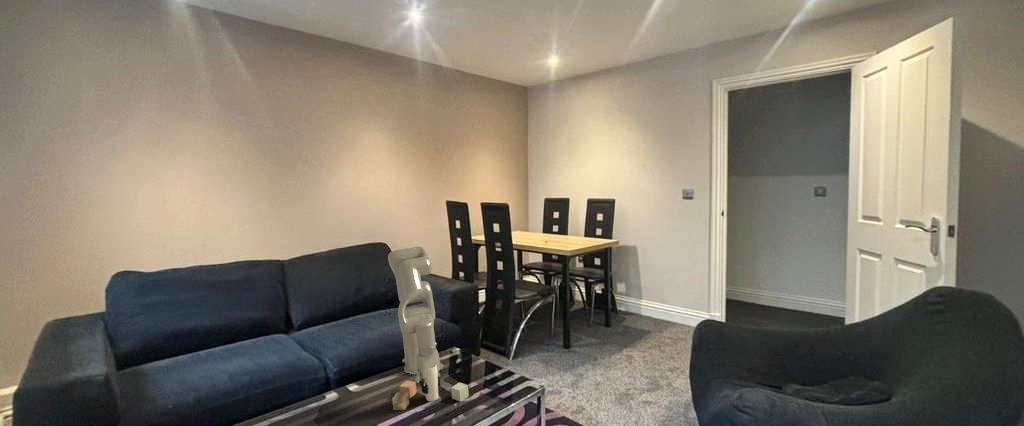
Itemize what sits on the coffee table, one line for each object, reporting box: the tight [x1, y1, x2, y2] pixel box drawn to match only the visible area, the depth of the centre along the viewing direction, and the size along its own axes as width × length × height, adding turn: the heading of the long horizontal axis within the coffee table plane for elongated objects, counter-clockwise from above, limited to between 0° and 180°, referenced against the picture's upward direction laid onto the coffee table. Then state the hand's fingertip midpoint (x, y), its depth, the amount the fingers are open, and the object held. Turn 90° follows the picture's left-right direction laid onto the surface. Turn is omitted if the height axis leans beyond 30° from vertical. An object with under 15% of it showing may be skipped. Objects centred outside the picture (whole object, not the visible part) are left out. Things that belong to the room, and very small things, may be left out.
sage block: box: [450, 382, 470, 402], centre depth 193 cm, size 5×5×5 cm
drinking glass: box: [423, 365, 439, 402], centre depth 193 cm, size 7×7×15 cm
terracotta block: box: [399, 380, 418, 399], centre depth 199 cm, size 5×5×5 cm
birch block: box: [391, 391, 410, 411], centre depth 190 cm, size 5×5×5 cm
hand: (431, 388), depth 194 cm, fingers closed on drinking glass, 6 cm apart
